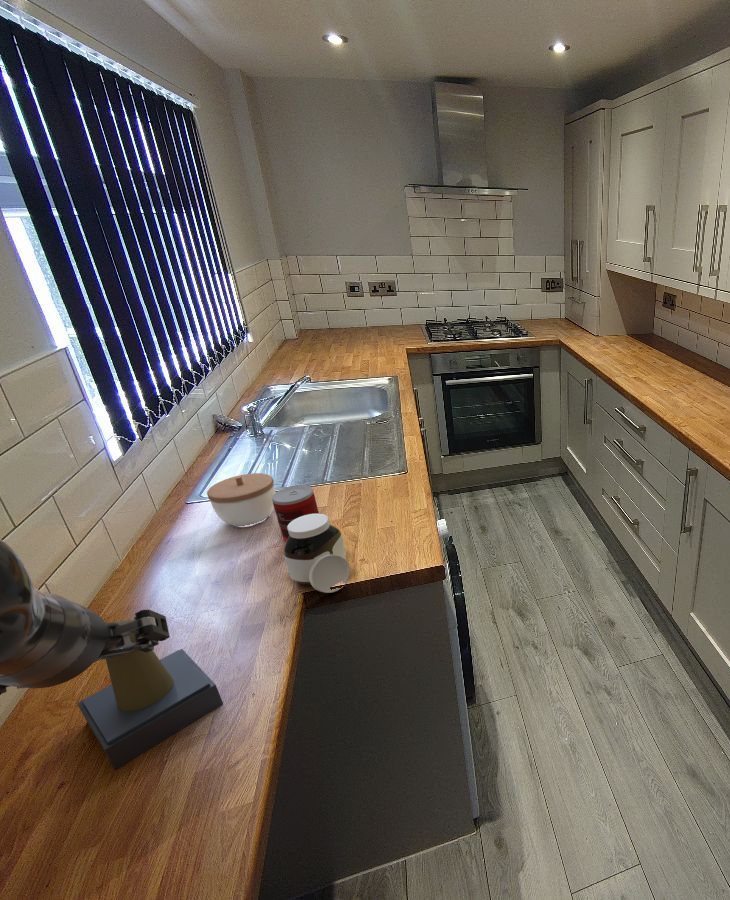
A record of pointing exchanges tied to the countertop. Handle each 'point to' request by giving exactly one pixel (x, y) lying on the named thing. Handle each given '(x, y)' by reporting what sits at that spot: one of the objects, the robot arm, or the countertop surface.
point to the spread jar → (316, 553)
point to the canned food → (293, 505)
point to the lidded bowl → (243, 498)
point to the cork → (138, 678)
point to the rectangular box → (151, 711)
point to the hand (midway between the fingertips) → (101, 658)
